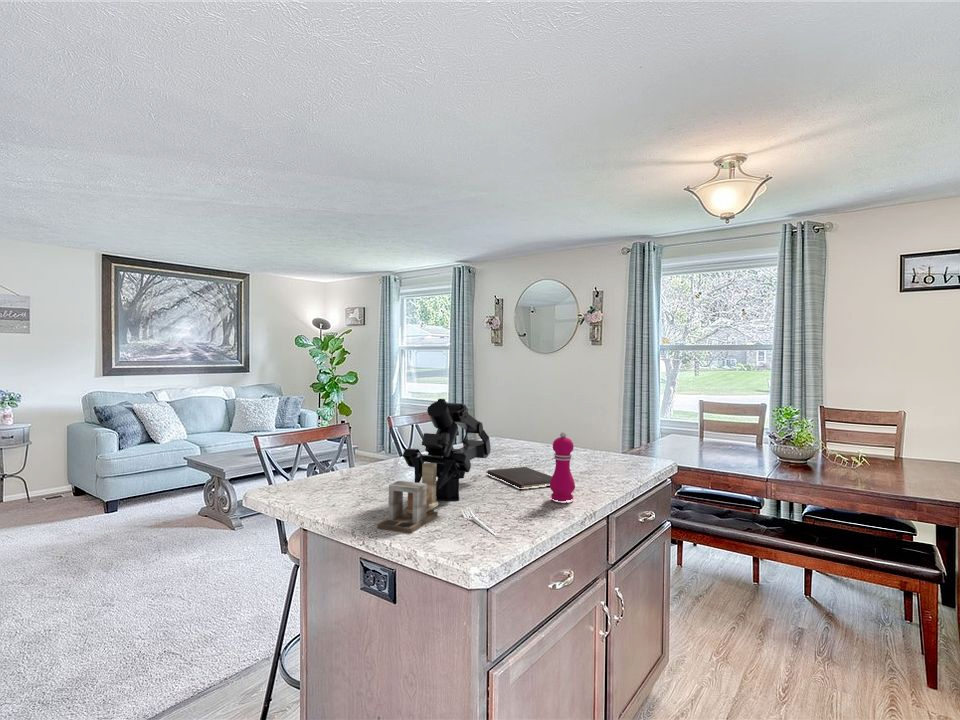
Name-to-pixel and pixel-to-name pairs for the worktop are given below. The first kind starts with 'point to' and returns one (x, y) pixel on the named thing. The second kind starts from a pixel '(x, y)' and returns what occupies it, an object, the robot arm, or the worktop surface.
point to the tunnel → (398, 516)
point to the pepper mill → (562, 469)
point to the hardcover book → (521, 476)
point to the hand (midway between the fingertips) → (427, 486)
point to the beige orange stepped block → (430, 480)
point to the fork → (475, 519)
